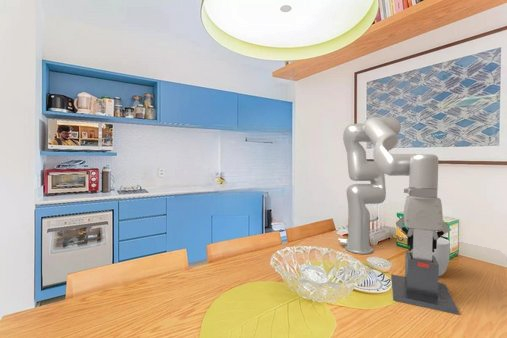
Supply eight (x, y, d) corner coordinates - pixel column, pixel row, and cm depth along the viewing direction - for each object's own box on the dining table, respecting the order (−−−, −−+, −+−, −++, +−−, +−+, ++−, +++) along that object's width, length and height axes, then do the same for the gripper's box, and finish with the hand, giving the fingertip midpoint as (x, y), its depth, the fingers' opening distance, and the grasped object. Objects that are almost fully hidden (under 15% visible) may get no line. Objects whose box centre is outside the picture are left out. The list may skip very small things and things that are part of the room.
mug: (426, 283, 89) (427, 246, 88) (399, 270, 100) (400, 237, 99) (456, 277, 93) (457, 242, 93) (428, 265, 104) (428, 233, 103)
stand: (393, 300, 78) (393, 262, 78) (391, 278, 93) (391, 246, 92) (457, 314, 71) (459, 272, 71) (444, 288, 86) (446, 253, 85)
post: (411, 289, 81) (413, 228, 80) (410, 282, 85) (411, 224, 84) (431, 293, 79) (433, 230, 78) (428, 286, 83) (430, 226, 82)
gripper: (392, 193, 81) (391, 248, 82) (459, 196, 73) (457, 258, 74) (391, 190, 88) (390, 242, 89) (453, 193, 80) (451, 249, 81)
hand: (421, 248), depth 81 cm, fingers closed on post, 5 cm apart
